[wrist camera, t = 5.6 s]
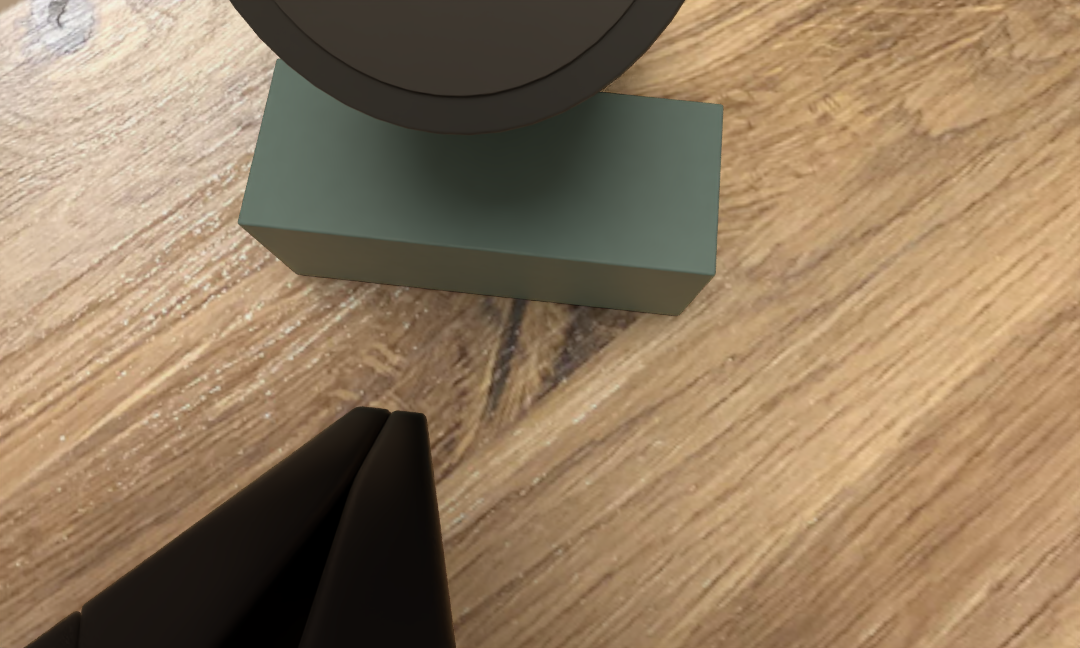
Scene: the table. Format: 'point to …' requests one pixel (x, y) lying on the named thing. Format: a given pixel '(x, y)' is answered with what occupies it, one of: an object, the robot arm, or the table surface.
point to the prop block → (494, 200)
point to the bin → (459, 54)
